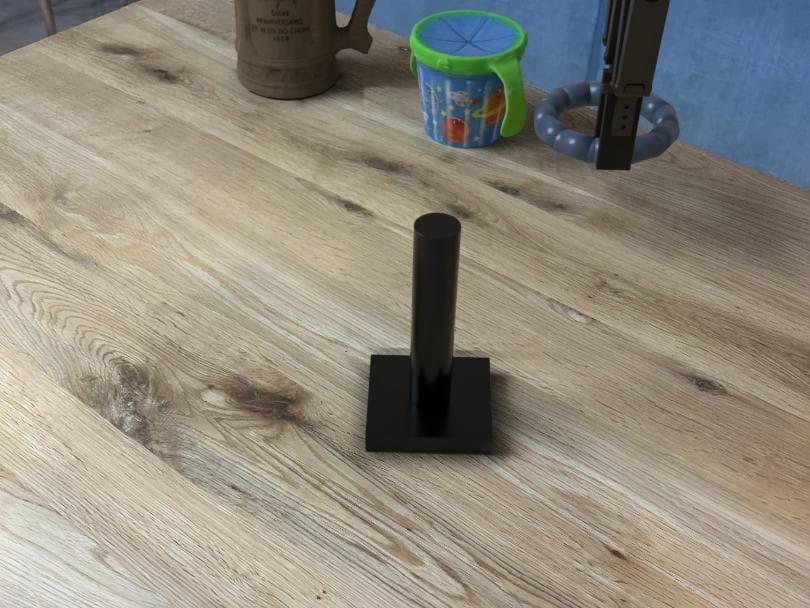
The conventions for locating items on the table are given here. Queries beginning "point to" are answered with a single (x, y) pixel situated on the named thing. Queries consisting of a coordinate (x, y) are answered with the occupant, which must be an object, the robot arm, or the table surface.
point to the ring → (587, 145)
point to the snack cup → (469, 76)
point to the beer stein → (295, 44)
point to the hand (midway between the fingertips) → (610, 157)
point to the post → (431, 363)
